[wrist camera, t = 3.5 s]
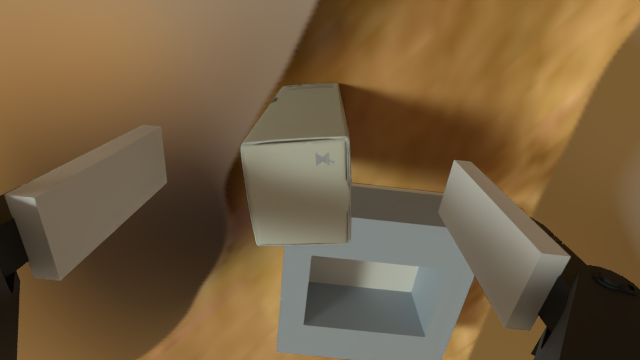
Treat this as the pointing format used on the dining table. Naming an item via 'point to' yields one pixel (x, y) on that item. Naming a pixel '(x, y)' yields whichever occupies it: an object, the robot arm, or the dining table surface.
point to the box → (300, 169)
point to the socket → (376, 283)
